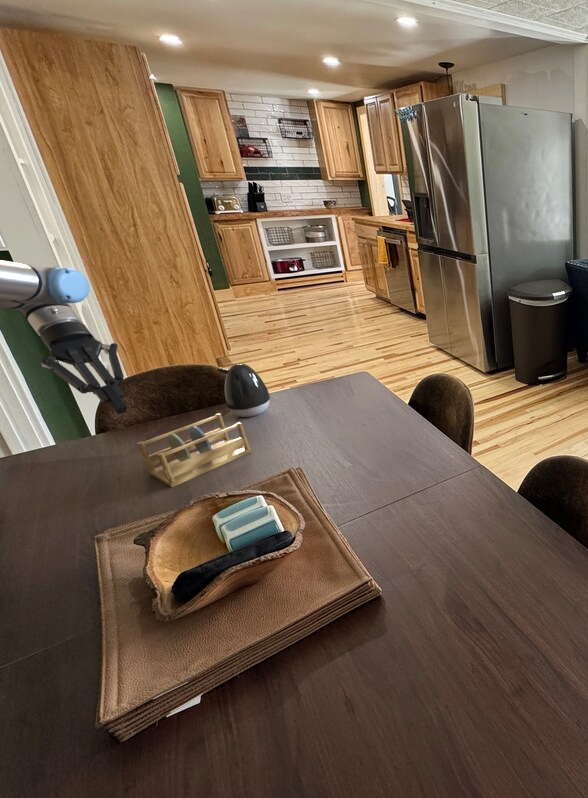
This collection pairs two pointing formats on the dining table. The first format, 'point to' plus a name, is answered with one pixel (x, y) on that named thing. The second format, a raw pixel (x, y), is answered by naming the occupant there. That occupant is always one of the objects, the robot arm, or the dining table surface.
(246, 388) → the pump dispenser
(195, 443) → the dish rack
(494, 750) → the dining table surface
